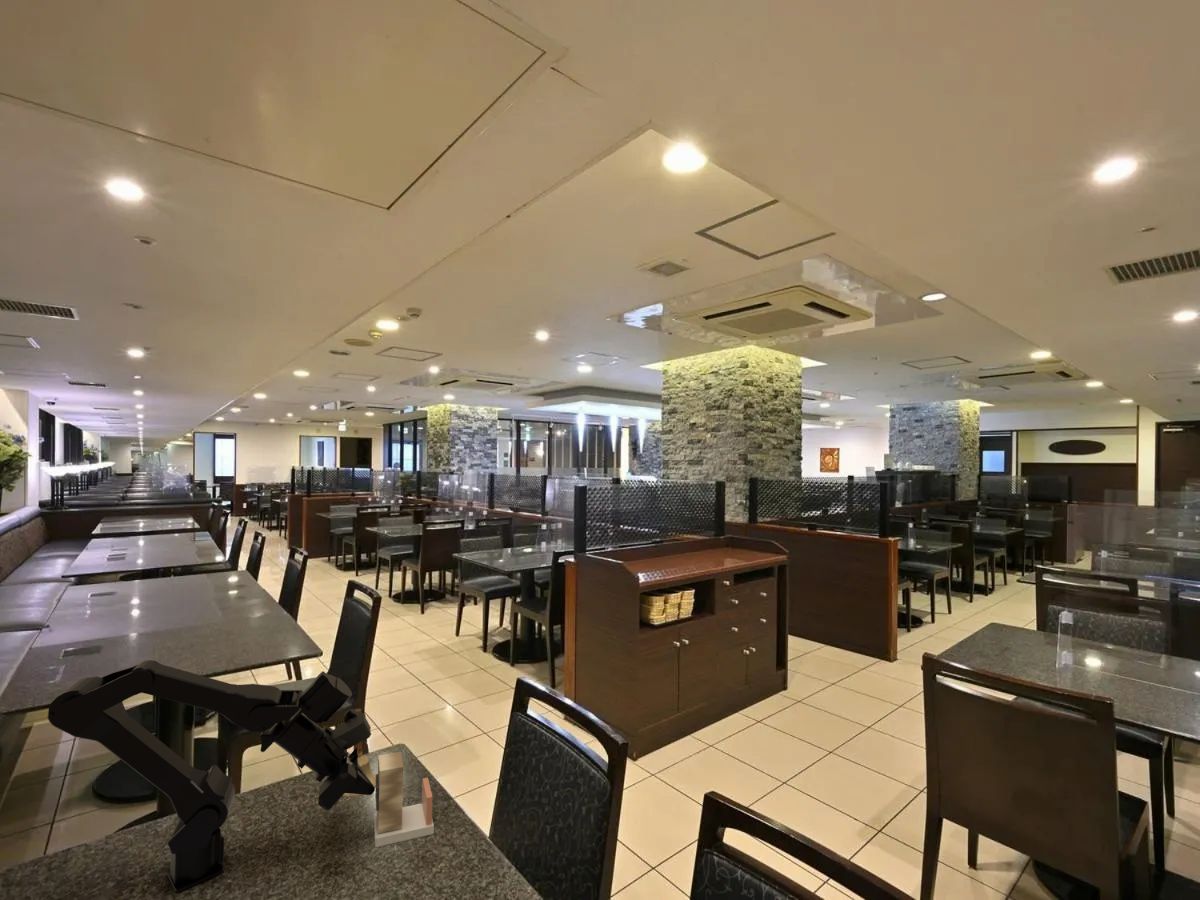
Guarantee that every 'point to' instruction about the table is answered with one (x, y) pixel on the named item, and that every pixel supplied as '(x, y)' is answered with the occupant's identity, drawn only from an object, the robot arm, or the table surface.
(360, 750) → the hand bell
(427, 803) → the base
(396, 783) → the tan tall block
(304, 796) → the table surface
